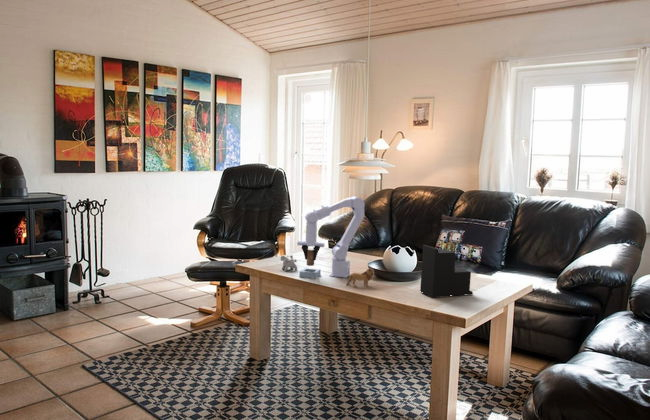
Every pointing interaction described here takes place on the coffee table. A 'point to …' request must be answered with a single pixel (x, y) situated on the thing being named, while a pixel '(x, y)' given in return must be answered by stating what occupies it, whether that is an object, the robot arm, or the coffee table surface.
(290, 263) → the elephant statuette
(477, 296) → the coffee table surface
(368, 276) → the lion figurine
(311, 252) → the peg
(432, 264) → the bookend
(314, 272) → the socket
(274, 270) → the coffee table surface
